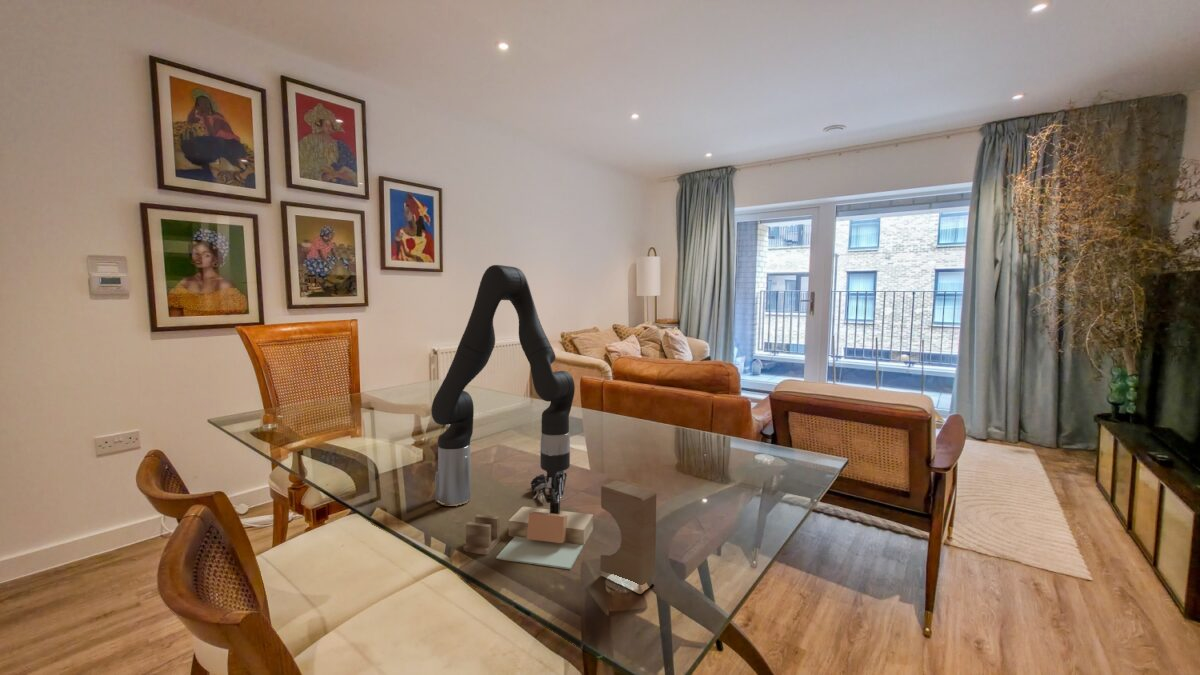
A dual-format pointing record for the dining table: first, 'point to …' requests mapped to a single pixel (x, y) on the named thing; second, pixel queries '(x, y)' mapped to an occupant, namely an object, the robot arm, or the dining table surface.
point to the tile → (547, 527)
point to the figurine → (539, 487)
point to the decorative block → (631, 531)
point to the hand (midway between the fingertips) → (555, 515)
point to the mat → (541, 552)
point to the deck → (575, 531)
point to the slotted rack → (482, 534)
